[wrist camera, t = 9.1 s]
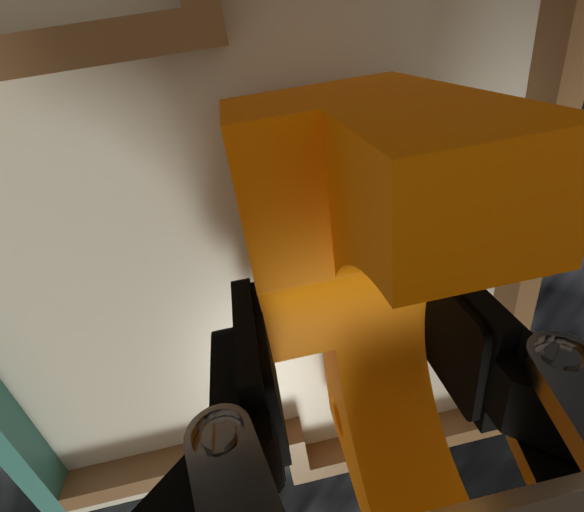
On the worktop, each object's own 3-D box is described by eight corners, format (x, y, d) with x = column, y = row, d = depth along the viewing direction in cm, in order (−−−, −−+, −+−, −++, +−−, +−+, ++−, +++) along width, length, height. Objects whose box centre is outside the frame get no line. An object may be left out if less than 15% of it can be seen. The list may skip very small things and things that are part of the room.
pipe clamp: (219, 99, 9) (221, 190, 4) (392, 71, 10) (622, 118, 4) (287, 418, 15) (326, 632, 10) (391, 394, 16) (486, 588, 10)
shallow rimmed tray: (599, -164, 9) (676, -204, 8) (491, 401, 19) (515, 433, 18) (-394, -38, 8) (-550, -57, 6) (57, 505, 18) (42, 550, 16)
